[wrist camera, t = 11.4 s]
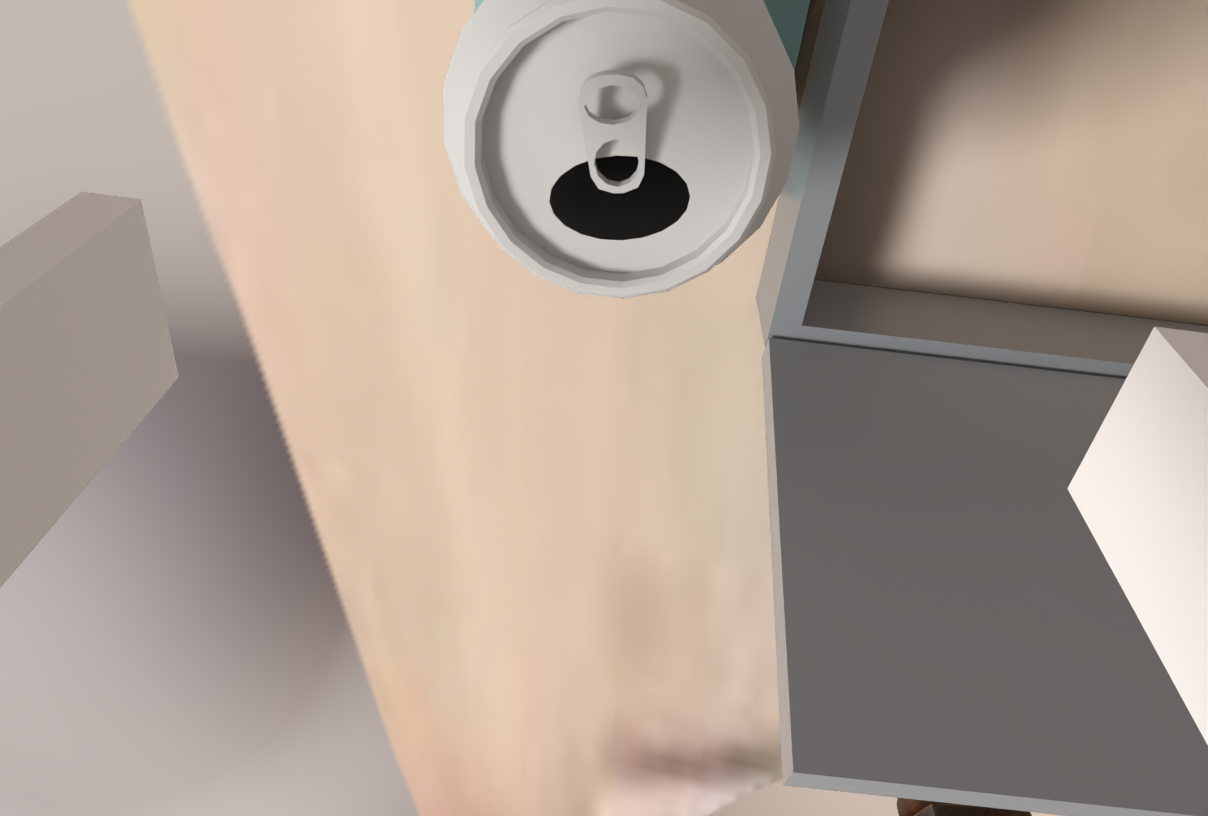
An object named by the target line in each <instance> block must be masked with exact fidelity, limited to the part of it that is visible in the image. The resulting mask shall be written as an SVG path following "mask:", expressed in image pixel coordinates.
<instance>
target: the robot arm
mask: <svg viewBox="0 0 1208 816" xmlns="http://www.w3.org/2000/svg"><path fill="white" fill-rule="evenodd" d="M178 377H179V376H178V372H177V367H176V362H175V358H174V353H173V348H172V343H171V339H170V334H169V329H168V325H167V320H166V315H165V311H164V306H163V301H162V297H161V292H160V287H159V282H158V278H157V273H156V268H155V264H154V259H153V254H152V250H151V245H150V241H149V235H148V231H147V226H146V221H145V217H144V212H143V207H142V203H141V199H135V198H127V197H119V196H110V195H103V194H95V193H88V192H81V193H79V194H78V195H76V196H75V197H73V198H72V199H70V200H69V201H67V202H66V203H64V204H63V205H61V206H60V207H59V208H57V209H56V210H54V211H53V212H51V213H50V214H48V215H47V216H45V217H44V218H42V219H41V220H39V221H38V222H37V223H35V224H34V225H32V226H31V227H29V228H28V229H26V230H25V231H23V232H22V233H20V234H19V235H18V236H16V237H15V238H13V239H12V240H10V241H9V242H7V243H6V244H4V245H3V246H1V247H0V588H1V586H2V585H3V584H4V583H5V582H6V581H7V579H8V578H9V577H10V576H11V574H12V573H13V572H14V571H15V570H16V569H17V568H18V566H19V565H20V564H21V563H22V562H23V560H24V559H25V558H26V557H27V555H29V553H30V552H31V551H32V550H33V549H34V547H35V546H36V545H37V544H38V543H39V542H40V540H41V539H42V538H43V537H44V536H45V534H46V533H47V532H48V531H49V530H50V529H51V527H52V526H53V525H54V524H55V523H56V521H57V520H58V519H59V518H60V517H61V515H62V514H63V513H64V512H65V511H66V510H67V508H68V507H69V506H70V505H71V504H72V503H73V501H74V500H75V499H76V498H77V497H78V495H79V494H80V493H81V492H82V491H83V490H84V488H85V487H86V486H87V485H88V484H89V482H90V481H91V480H92V479H93V478H94V477H95V475H96V474H97V473H98V472H99V471H100V469H101V468H102V467H103V466H104V465H105V463H106V462H107V461H108V460H109V459H110V458H111V456H112V455H113V454H114V453H115V452H116V451H117V449H118V448H119V447H120V446H121V445H122V443H123V442H124V441H125V440H126V439H127V438H128V436H129V435H130V434H131V433H132V432H133V430H134V429H135V428H136V427H137V426H138V424H139V423H140V422H141V421H142V420H143V419H144V417H145V416H146V415H147V414H148V413H149V412H150V410H151V409H152V408H153V407H154V406H155V404H156V403H157V402H158V401H159V400H160V399H161V397H162V396H163V395H164V394H165V393H166V391H167V390H168V389H169V388H170V387H171V385H172V384H173V383H174V382H175V381H176V380H177V378H178ZM1067 489H1068V491H1069V492H1070V494H1071V496H1072V498H1073V500H1074V502H1075V503H1076V505H1077V507H1078V509H1079V511H1080V513H1081V514H1082V516H1083V518H1084V520H1085V522H1086V524H1087V525H1088V527H1089V529H1090V531H1091V533H1092V535H1093V536H1094V538H1095V540H1096V542H1097V544H1098V546H1099V547H1100V549H1101V551H1102V553H1103V555H1104V557H1105V558H1106V560H1107V562H1108V564H1109V566H1110V567H1111V569H1112V571H1113V573H1114V575H1115V577H1116V578H1117V580H1118V582H1119V584H1120V586H1121V588H1122V589H1123V591H1124V593H1125V595H1126V597H1127V599H1128V600H1129V602H1130V604H1131V606H1132V608H1133V610H1134V611H1135V613H1136V615H1137V617H1138V619H1139V621H1140V622H1141V624H1142V626H1143V628H1144V630H1145V632H1146V633H1147V635H1148V637H1149V639H1150V641H1151V643H1152V644H1153V646H1154V648H1155V650H1156V652H1157V654H1158V655H1159V657H1160V659H1161V661H1162V663H1163V664H1164V666H1165V668H1166V670H1167V672H1168V674H1169V675H1170V677H1171V679H1172V681H1173V683H1174V685H1175V686H1176V688H1177V690H1178V692H1179V694H1180V696H1181V697H1182V699H1183V701H1184V703H1185V705H1186V707H1187V708H1188V710H1189V712H1190V714H1191V716H1192V718H1193V719H1194V721H1195V723H1196V725H1197V727H1198V729H1199V730H1200V732H1201V734H1202V736H1203V738H1204V740H1205V741H1206V743H1207V745H1208V333H1202V332H1194V331H1186V330H1178V329H1170V328H1162V327H1154V328H1153V330H1152V332H1151V334H1150V335H1149V337H1148V339H1147V341H1146V343H1145V345H1144V347H1143V348H1142V350H1141V352H1140V354H1139V356H1138V358H1137V360H1136V362H1135V363H1134V365H1133V367H1132V369H1131V371H1130V373H1129V375H1128V376H1127V378H1126V380H1125V382H1124V384H1123V386H1122V388H1121V390H1120V391H1119V393H1118V395H1117V397H1116V399H1115V401H1114V403H1113V404H1112V406H1111V408H1110V410H1109V412H1108V414H1107V416H1106V418H1105V419H1104V421H1103V423H1102V425H1101V427H1100V429H1099V431H1098V432H1097V434H1096V436H1095V438H1094V440H1093V442H1092V444H1091V446H1090V447H1089V449H1088V451H1087V453H1086V455H1085V457H1084V459H1083V460H1082V462H1081V464H1080V466H1079V468H1078V470H1077V472H1076V473H1075V475H1074V477H1073V479H1072V481H1071V483H1070V485H1069V487H1068V488H1067Z"/></svg>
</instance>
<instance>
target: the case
mask: <svg viewBox="0 0 1208 816" xmlns="http://www.w3.org/2000/svg"><path fill="white" fill-rule="evenodd" d="M888 3H889V0H825V2H824V6H823V10H822V15H821V19H820V23H819V28H818V32H817V36H816V41H815V45H814V49H813V54H812V58H811V62H810V67H809V71H808V75H807V80H806V84H805V88H804V93H803V97H802V102H801V106H800V110H799V115H798V117H799V131H798V135H797V140H796V144H795V149H794V153H793V157H792V162H791V166H790V171H789V175H788V179H787V182H786V184H785V186H784V187H783V189H782V191H781V193H780V197H779V201H778V206H777V210H776V214H775V219H774V223H773V228H772V232H771V236H770V241H769V245H768V249H767V254H766V258H765V262H764V267H763V271H762V275H761V280H760V284H759V288H758V293H757V297H756V299H757V304H758V310H759V315H760V321H761V326H762V332H763V338H764V343H765V351H764V354H763V357H762V364H763V385H764V405H765V426H766V447H767V467H768V488H769V508H770V529H771V550H772V570H773V591H774V612H775V632H776V653H777V673H778V694H779V715H780V735H781V756H782V777H783V785H785V786H794V787H805V788H813V789H822V790H833V791H842V792H850V793H861V794H869V795H879V796H888V797H897V798H906V799H915V800H925V801H934V802H943V803H953V804H962V805H971V806H981V807H990V808H999V809H1008V810H1018V811H1027V812H1036V813H1046V814H1055V815H1064V816H1208V745H1207V743H1206V741H1205V740H1204V738H1203V736H1202V734H1201V732H1200V730H1199V729H1198V727H1197V725H1196V723H1195V721H1194V719H1193V718H1192V716H1191V714H1190V712H1189V710H1188V708H1187V707H1186V705H1185V703H1184V701H1183V699H1182V697H1181V696H1180V694H1179V692H1178V690H1177V688H1176V686H1175V685H1174V683H1173V681H1172V679H1171V677H1170V675H1169V674H1168V672H1167V670H1166V668H1165V666H1164V664H1163V663H1162V661H1161V659H1160V657H1159V655H1158V654H1157V652H1156V650H1155V648H1154V646H1153V644H1152V643H1151V641H1150V639H1149V637H1148V635H1147V633H1146V632H1145V630H1144V628H1143V626H1142V624H1141V622H1140V621H1139V619H1138V617H1137V615H1136V613H1135V611H1134V610H1133V608H1132V606H1131V604H1130V602H1129V600H1128V599H1127V597H1126V595H1125V593H1124V591H1123V589H1122V588H1121V586H1120V584H1119V582H1118V580H1117V578H1116V577H1115V575H1114V573H1113V571H1112V569H1111V567H1110V566H1109V564H1108V562H1107V560H1106V558H1105V557H1104V555H1103V553H1102V551H1101V549H1100V547H1099V546H1098V544H1097V542H1096V540H1095V538H1094V536H1093V535H1092V533H1091V531H1090V529H1089V527H1088V525H1087V524H1086V522H1085V520H1084V518H1083V516H1082V514H1081V513H1080V511H1079V509H1078V507H1077V505H1076V503H1075V502H1074V500H1073V498H1072V496H1071V494H1070V492H1069V491H1068V489H1067V488H1068V487H1069V485H1070V483H1071V481H1072V479H1073V477H1074V475H1075V473H1076V472H1077V470H1078V468H1079V466H1080V464H1081V462H1082V460H1083V459H1084V457H1085V455H1086V453H1087V451H1088V449H1089V447H1090V446H1091V444H1092V442H1093V440H1094V438H1095V436H1096V434H1097V432H1098V431H1099V429H1100V427H1101V425H1102V423H1103V421H1104V419H1105V418H1106V416H1107V414H1108V412H1109V410H1110V408H1111V406H1112V404H1113V403H1114V401H1115V399H1116V397H1117V395H1118V393H1119V391H1120V390H1121V388H1122V386H1123V384H1124V382H1125V380H1126V378H1127V376H1128V375H1129V373H1130V371H1131V369H1132V367H1133V365H1134V363H1135V362H1136V360H1137V358H1138V356H1139V354H1140V352H1141V350H1142V348H1143V347H1144V345H1145V343H1146V341H1147V339H1148V337H1149V335H1150V334H1151V332H1152V330H1153V328H1154V327H1162V328H1170V329H1178V330H1186V331H1194V332H1202V333H1208V326H1206V325H1197V324H1189V323H1180V322H1172V321H1163V320H1154V319H1146V318H1137V317H1129V316H1120V315H1112V314H1103V313H1095V312H1086V311H1078V310H1069V309H1060V308H1052V307H1043V306H1035V305H1026V304H1018V303H1009V302H1001V301H992V300H984V299H975V298H966V297H958V296H949V295H941V294H932V293H924V292H915V291H907V290H898V289H890V288H881V287H873V286H864V285H855V284H847V283H838V282H830V281H821V280H814V278H815V274H816V270H817V267H818V263H819V259H820V256H821V252H822V248H823V244H824V241H825V237H826V233H827V230H828V226H829V222H830V219H831V215H832V211H833V207H834V204H835V200H836V196H837V193H838V189H839V185H840V181H841V178H842V174H843V170H844V167H845V163H846V159H847V155H848V152H849V148H850V144H851V141H852V137H853V133H854V130H855V126H856V122H857V118H858V115H859V111H860V107H861V104H862V100H863V96H864V92H865V89H866V85H867V81H868V78H869V74H870V70H871V67H872V63H873V59H874V55H875V52H876V48H877V44H878V41H879V37H880V33H881V29H882V26H883V22H884V18H885V15H886V11H887V7H888Z"/></svg>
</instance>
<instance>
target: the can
mask: <svg viewBox="0 0 1208 816" xmlns="http://www.w3.org/2000/svg"><path fill="white" fill-rule="evenodd" d="M443 102H444V144H445V147H446V150H447V153H448V156H449V159H450V162H451V165H452V168H453V171H454V175H455V178H456V181H457V184H458V187H459V190H460V193H461V195H462V196H463V197H464V199H465V200H466V202H467V203H468V205H469V206H470V207H471V209H472V210H473V212H474V213H475V214H476V216H477V217H478V219H479V220H480V222H481V223H482V224H483V226H484V227H485V229H486V230H487V232H488V233H489V234H490V236H491V237H492V238H494V239H495V240H496V241H497V243H498V244H499V246H500V247H501V248H502V249H503V250H504V251H506V252H507V253H508V254H509V255H511V256H512V257H513V258H514V259H516V260H517V261H518V262H519V263H521V264H522V265H523V266H524V267H526V268H527V269H528V270H529V271H531V272H532V273H533V274H535V275H536V276H537V277H539V278H542V279H544V280H547V281H549V282H552V283H554V284H556V285H559V286H561V287H564V288H566V289H569V290H571V291H574V292H576V293H578V294H586V295H595V296H604V297H613V298H622V299H625V298H630V297H636V296H642V295H648V294H654V293H660V292H666V291H669V290H671V289H673V288H675V287H677V286H680V285H682V284H684V283H686V282H688V281H690V280H692V279H694V278H696V277H698V276H700V275H702V274H704V273H706V272H708V271H710V270H711V269H712V268H713V267H714V266H715V265H717V264H719V263H721V262H723V261H724V260H725V259H726V258H727V257H728V256H729V255H730V254H731V253H732V252H733V251H735V250H736V249H737V248H738V247H739V246H740V245H741V244H742V243H743V242H744V241H745V240H747V239H748V238H749V237H750V236H751V235H752V234H753V233H754V232H755V231H756V230H757V229H759V228H760V226H761V225H762V223H763V221H764V220H765V218H766V216H767V214H768V213H769V211H770V209H771V208H772V206H773V204H774V203H775V201H776V199H777V197H778V196H779V194H780V192H781V191H782V189H783V187H784V186H785V184H786V182H787V179H788V175H789V171H790V166H791V162H792V157H793V153H794V149H795V144H796V140H797V135H798V131H799V117H798V107H797V96H796V85H795V75H794V68H793V66H792V64H791V62H790V59H789V57H788V55H787V53H786V50H785V48H784V46H783V44H782V41H781V39H780V37H779V35H778V32H777V30H776V28H775V26H774V23H773V21H772V19H771V17H770V14H769V12H768V10H767V8H766V5H765V3H764V1H763V0H484V1H483V2H482V4H481V5H480V6H479V8H478V9H477V10H476V12H475V13H474V14H473V16H472V17H471V18H470V20H469V21H468V22H467V24H466V25H465V26H464V28H463V29H462V30H461V33H460V36H459V39H458V42H457V45H456V48H455V51H454V55H453V58H452V61H451V64H450V67H449V70H448V73H447V76H446V79H445V83H444V86H443Z"/></svg>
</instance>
